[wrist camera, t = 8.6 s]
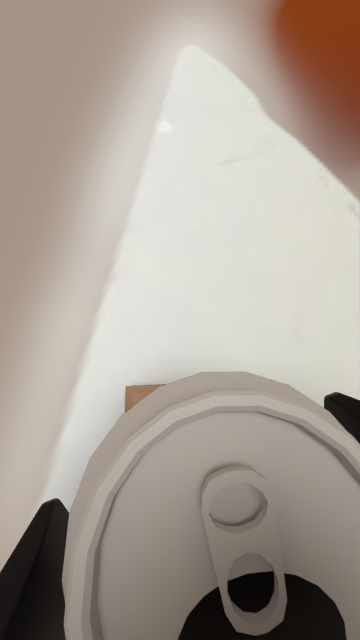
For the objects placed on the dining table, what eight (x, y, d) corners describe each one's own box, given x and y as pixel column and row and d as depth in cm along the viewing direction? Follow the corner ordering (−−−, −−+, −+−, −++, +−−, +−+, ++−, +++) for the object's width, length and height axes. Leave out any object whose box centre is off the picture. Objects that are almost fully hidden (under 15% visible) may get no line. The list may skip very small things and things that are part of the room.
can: (144, 555, 14) (-6, 1157, 3) (129, 408, 16) (22, 391, 5) (280, 526, 14) (651, 928, 3) (245, 387, 17) (378, 329, 6)
